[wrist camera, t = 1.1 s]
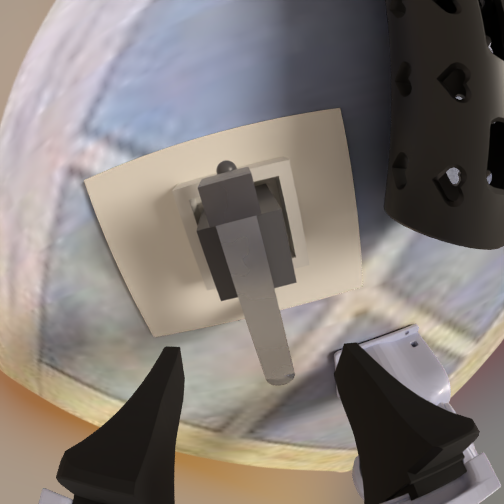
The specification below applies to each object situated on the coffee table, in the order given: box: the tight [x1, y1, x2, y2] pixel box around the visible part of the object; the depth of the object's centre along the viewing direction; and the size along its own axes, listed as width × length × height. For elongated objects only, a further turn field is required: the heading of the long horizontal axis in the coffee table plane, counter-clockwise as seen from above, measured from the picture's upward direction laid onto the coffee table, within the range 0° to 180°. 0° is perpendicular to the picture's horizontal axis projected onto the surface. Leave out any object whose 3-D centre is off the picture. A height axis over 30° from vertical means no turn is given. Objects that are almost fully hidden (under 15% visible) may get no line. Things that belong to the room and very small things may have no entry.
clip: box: [198, 167, 295, 385], centre depth 16 cm, size 2×12×8 cm, turn 13°
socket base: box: [84, 108, 363, 337], centre depth 19 cm, size 18×14×3 cm
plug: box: [197, 160, 297, 301], centre depth 16 cm, size 4×7×6 cm, turn 14°
